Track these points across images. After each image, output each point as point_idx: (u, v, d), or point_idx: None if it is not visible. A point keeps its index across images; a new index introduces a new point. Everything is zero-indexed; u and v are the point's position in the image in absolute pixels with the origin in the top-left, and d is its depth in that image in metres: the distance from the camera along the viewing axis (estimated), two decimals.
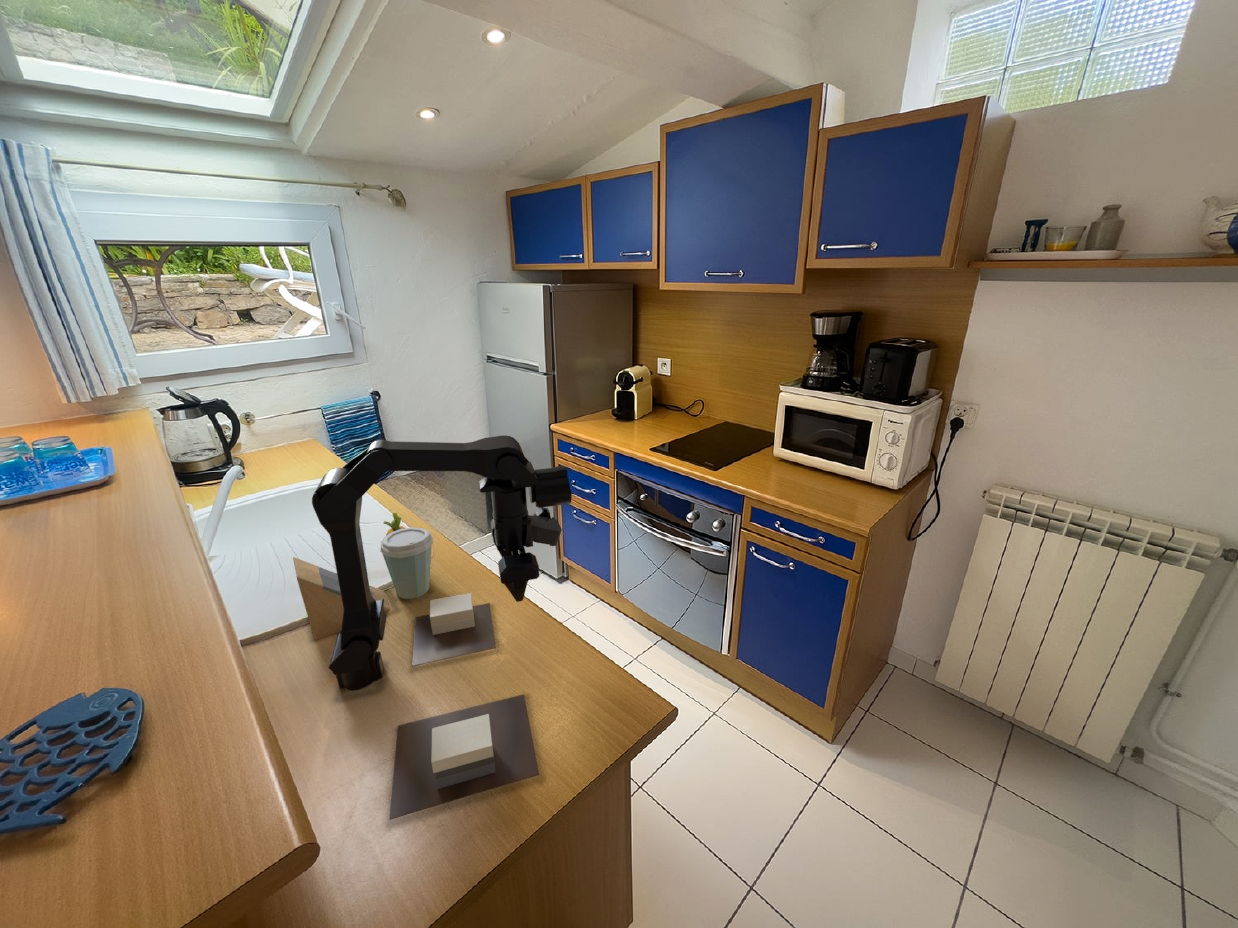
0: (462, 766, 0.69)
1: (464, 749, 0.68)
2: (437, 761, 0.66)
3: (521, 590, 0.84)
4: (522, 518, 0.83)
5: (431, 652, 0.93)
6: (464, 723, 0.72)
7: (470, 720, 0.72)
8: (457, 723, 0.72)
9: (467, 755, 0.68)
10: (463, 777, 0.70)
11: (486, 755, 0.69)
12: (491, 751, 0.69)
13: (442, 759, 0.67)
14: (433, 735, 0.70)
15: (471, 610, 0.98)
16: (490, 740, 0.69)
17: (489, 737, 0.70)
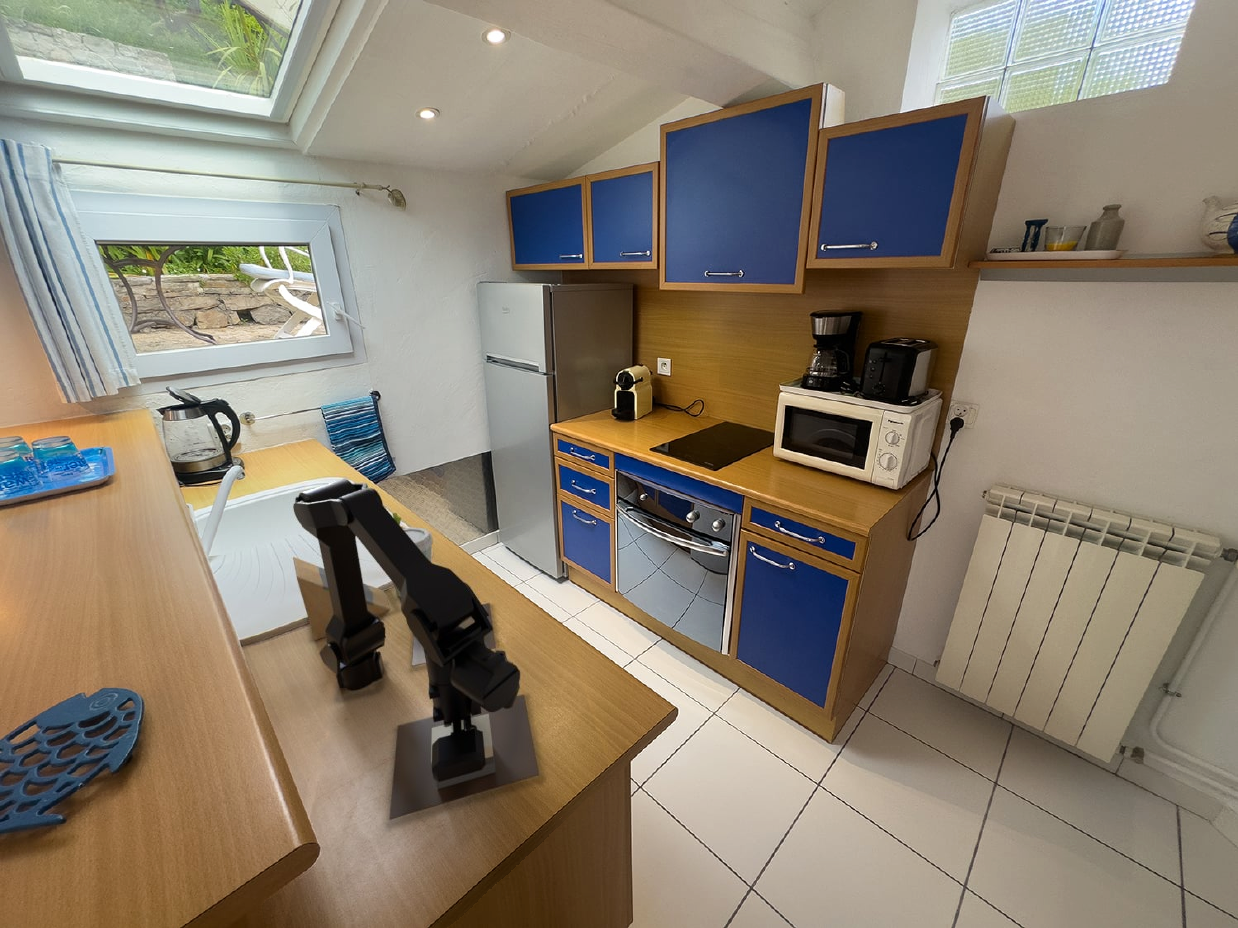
0: None
1: None
2: None
3: None
4: None
5: None
6: None
7: None
8: None
9: None
10: (463, 777, 0.70)
11: (486, 754, 0.69)
12: (491, 751, 0.69)
13: None
14: (433, 735, 0.70)
15: None
16: (490, 740, 0.69)
17: (489, 737, 0.70)
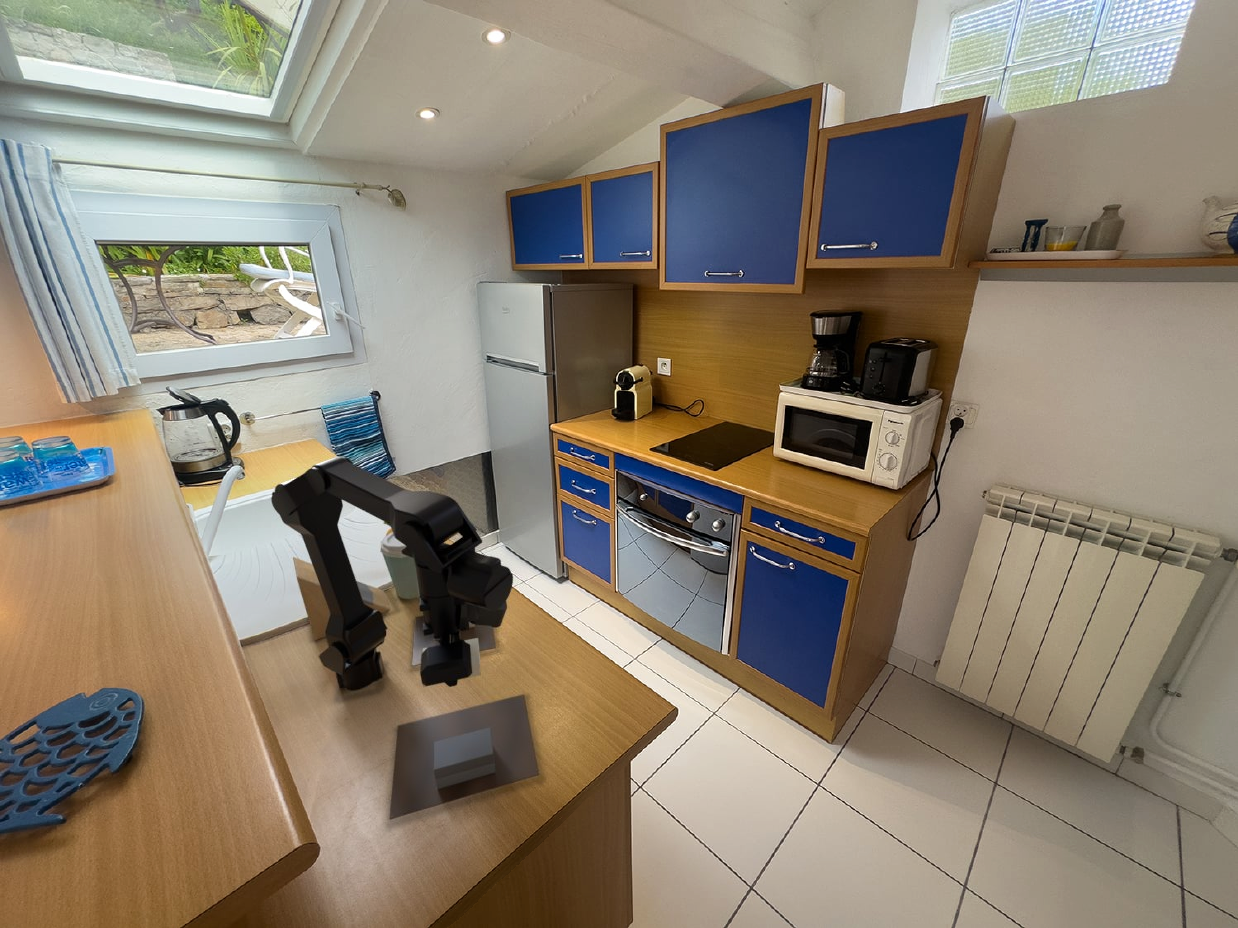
0: (462, 766, 0.69)
1: None
2: None
3: None
4: (454, 597, 0.67)
5: None
6: None
7: None
8: None
9: None
10: (463, 777, 0.70)
11: (474, 673, 0.72)
12: (479, 669, 0.72)
13: None
14: None
15: None
16: (478, 659, 0.72)
17: (477, 657, 0.73)
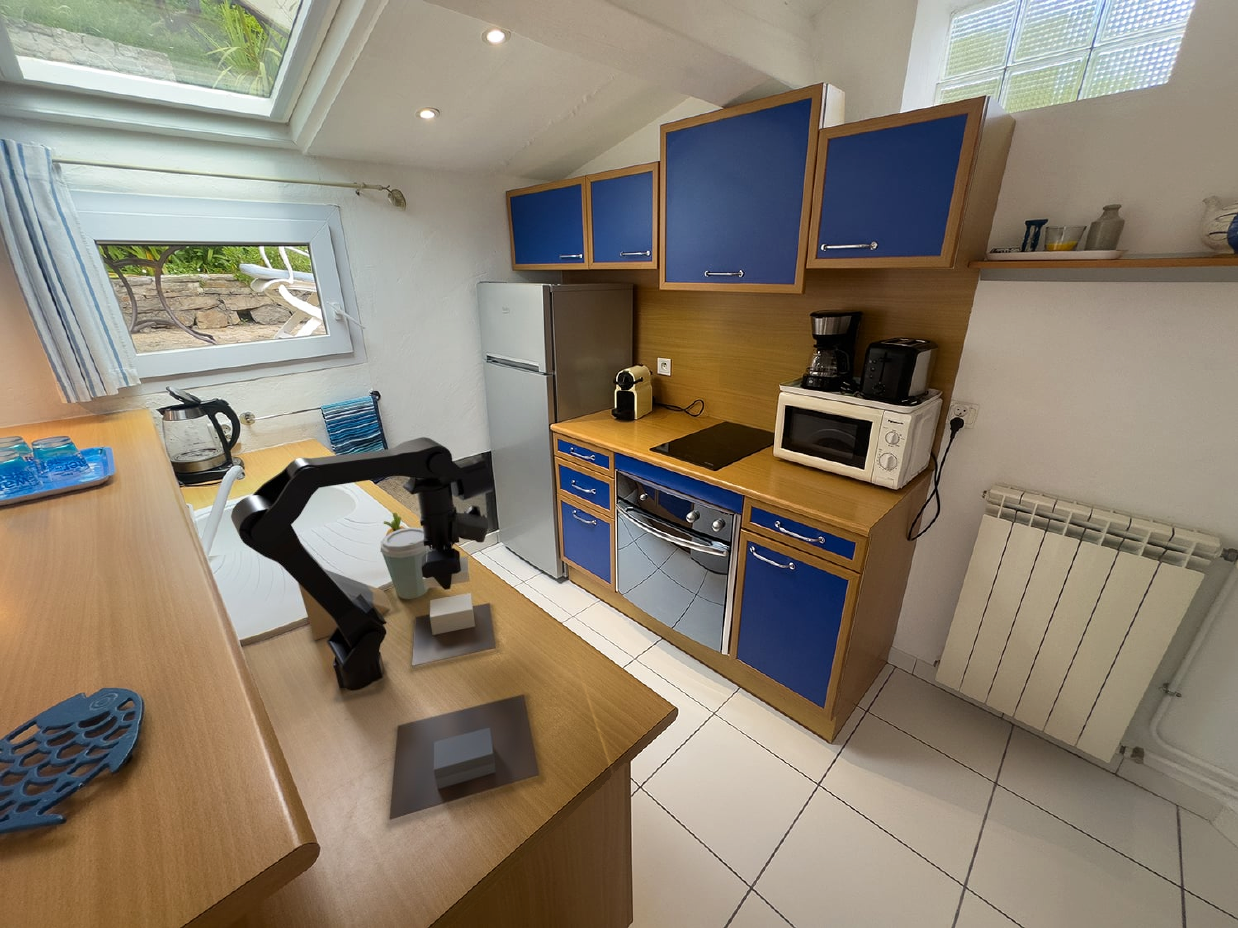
0: (462, 766, 0.69)
1: None
2: (427, 579, 0.90)
3: (447, 578, 0.90)
4: (447, 515, 0.87)
5: (431, 652, 0.93)
6: None
7: None
8: None
9: None
10: (463, 777, 0.70)
11: (464, 579, 0.92)
12: (468, 576, 0.92)
13: (431, 578, 0.90)
14: None
15: (471, 610, 0.98)
16: (467, 569, 0.92)
17: (466, 567, 0.93)
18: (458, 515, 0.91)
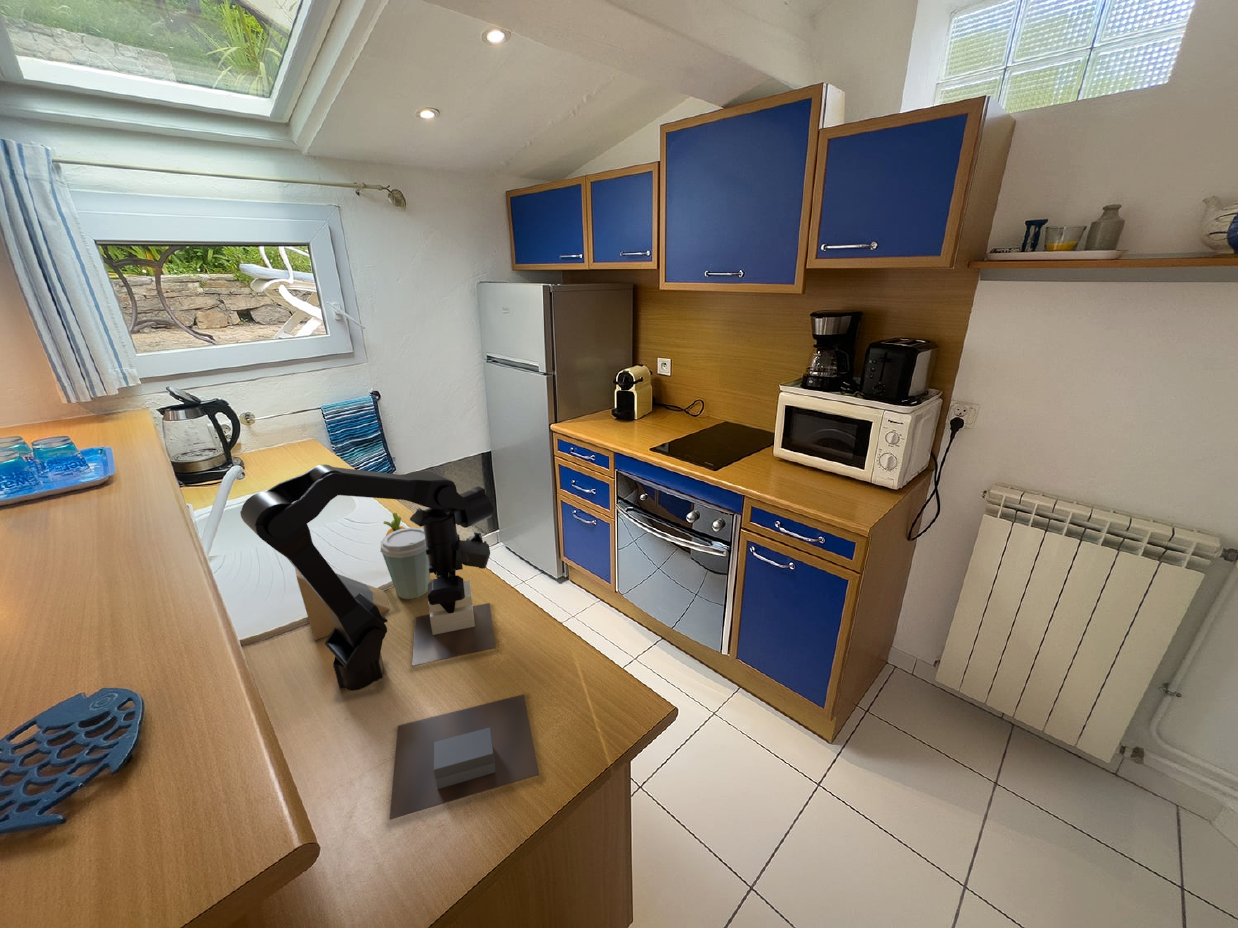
0: (462, 766, 0.69)
1: None
2: None
3: (451, 603, 0.94)
4: (451, 544, 0.92)
5: (431, 652, 0.93)
6: None
7: None
8: None
9: None
10: (463, 777, 0.70)
11: (467, 603, 0.97)
12: (471, 600, 0.97)
13: None
14: None
15: (471, 610, 0.98)
16: (470, 593, 0.97)
17: (469, 592, 0.98)
18: (461, 543, 0.96)
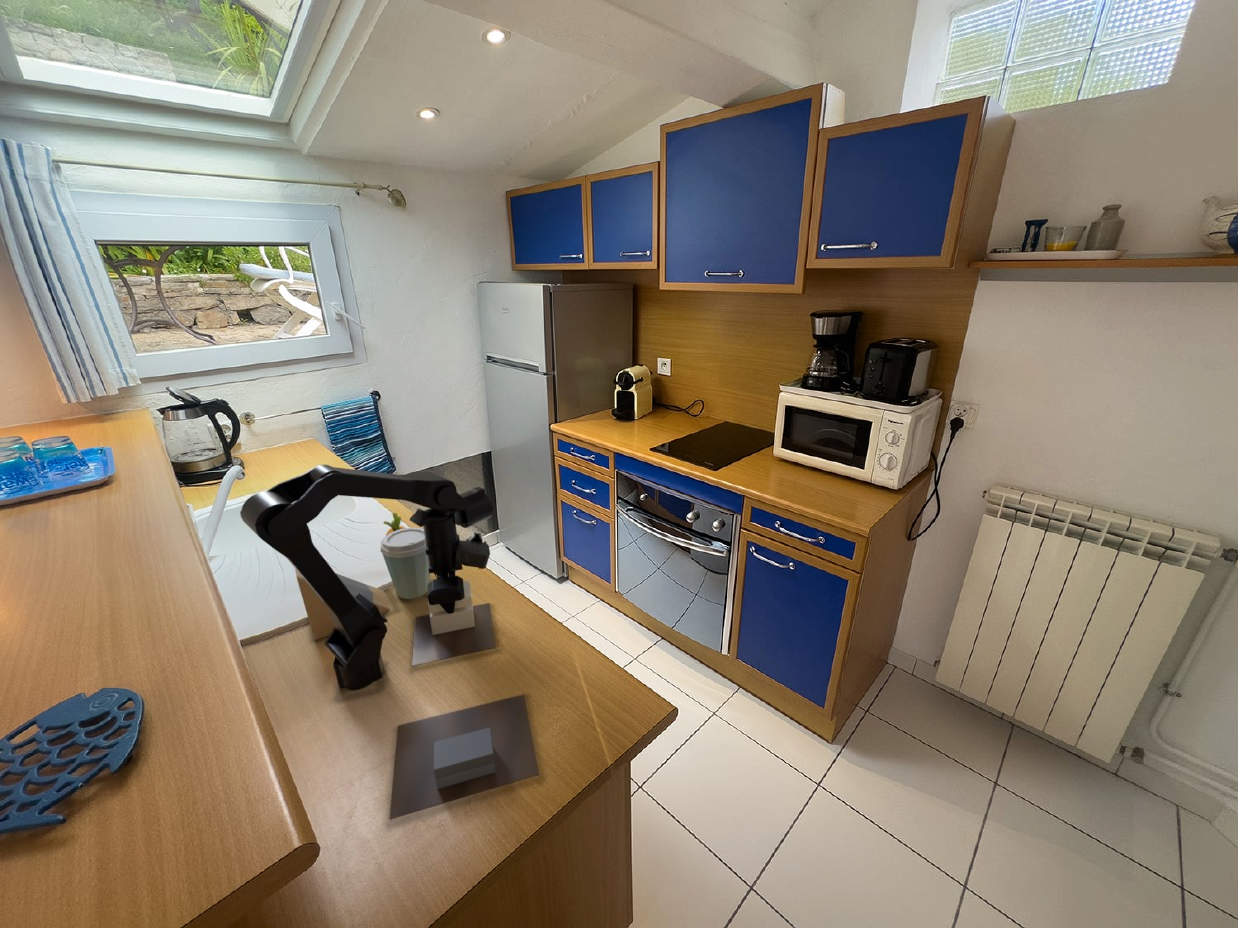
0: (462, 766, 0.69)
1: None
2: None
3: (451, 604, 0.94)
4: (451, 544, 0.92)
5: (431, 652, 0.93)
6: None
7: None
8: None
9: None
10: (463, 777, 0.70)
11: (467, 603, 0.97)
12: (470, 601, 0.97)
13: None
14: None
15: (471, 610, 0.98)
16: (470, 593, 0.97)
17: (469, 592, 0.98)
18: (461, 543, 0.96)
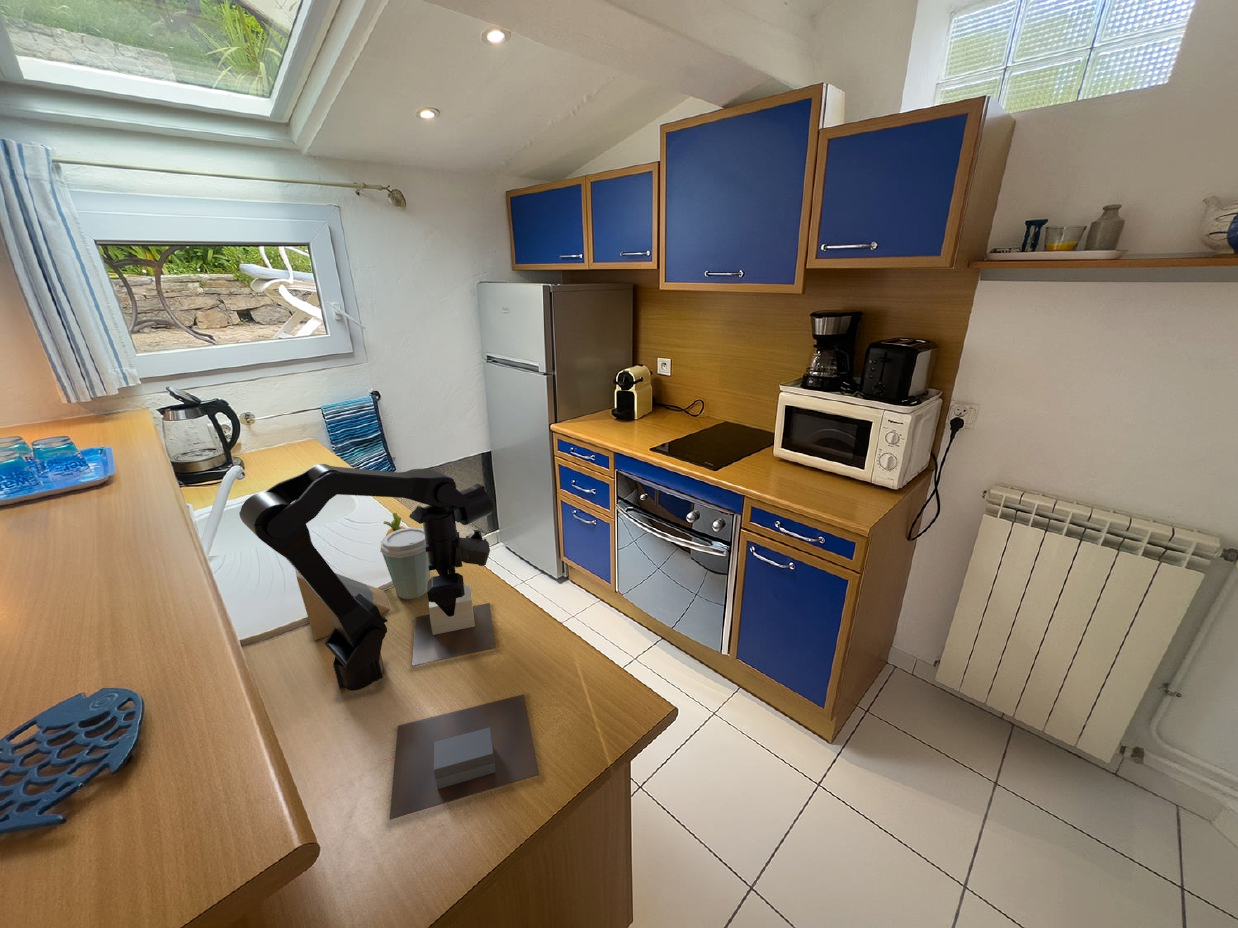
0: (462, 766, 0.69)
1: None
2: (432, 608, 0.95)
3: (451, 606, 0.93)
4: (451, 541, 0.91)
5: (431, 652, 0.93)
6: None
7: None
8: None
9: None
10: (463, 777, 0.70)
11: (467, 607, 0.97)
12: (471, 604, 0.97)
13: (436, 607, 0.95)
14: None
15: (471, 610, 0.98)
16: (470, 597, 0.98)
17: (470, 595, 0.98)
18: (461, 540, 0.95)
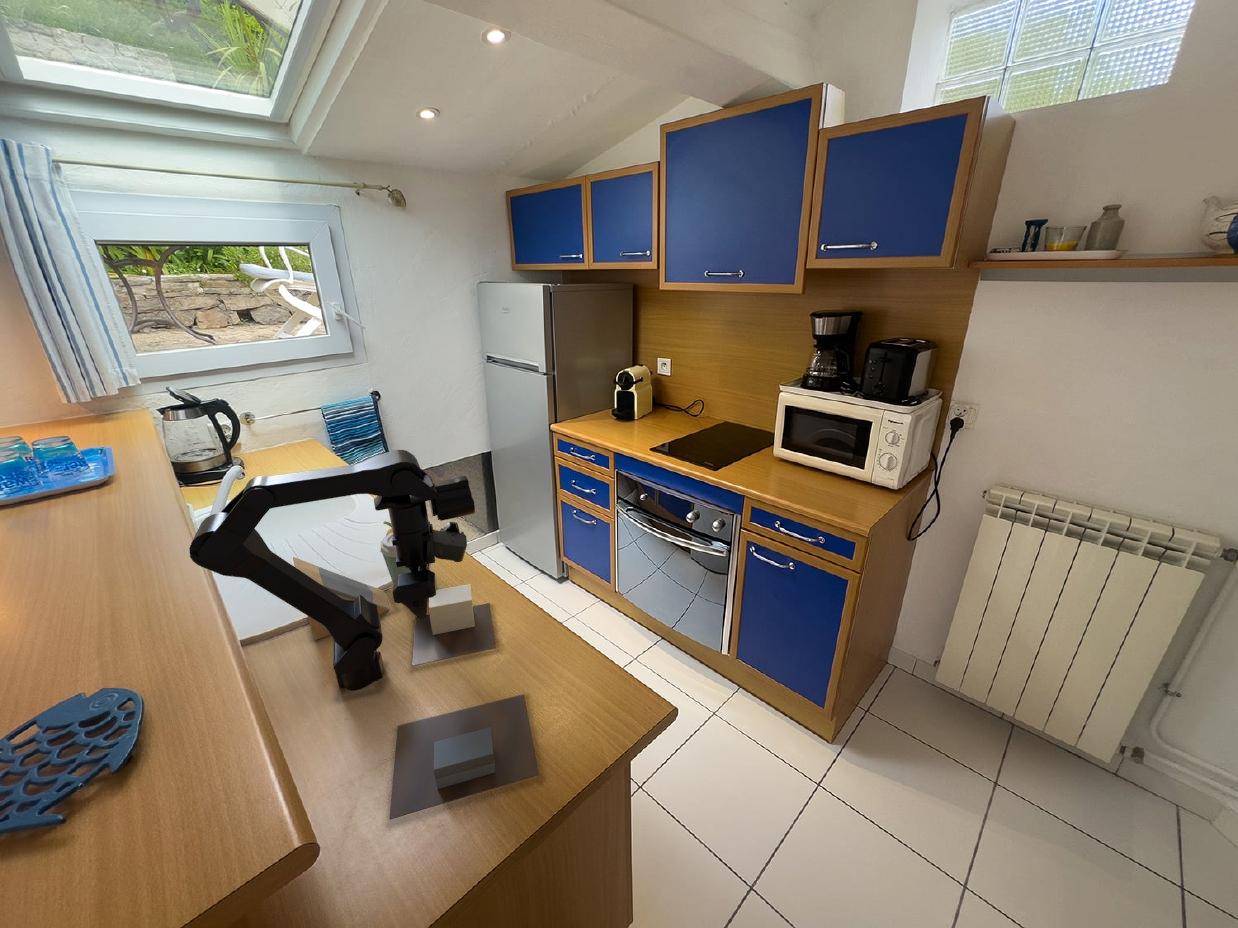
0: (462, 766, 0.69)
1: (451, 601, 0.96)
2: (432, 608, 0.95)
3: (422, 608, 0.82)
4: (421, 534, 0.81)
5: (431, 652, 0.93)
6: (452, 588, 1.00)
7: (457, 587, 1.01)
8: (447, 588, 1.00)
9: (454, 605, 0.96)
10: (463, 777, 0.70)
11: (467, 607, 0.97)
12: (471, 604, 0.97)
13: (436, 607, 0.95)
14: None
15: (471, 610, 0.98)
16: (470, 597, 0.98)
17: (470, 595, 0.98)
18: (434, 533, 0.85)
